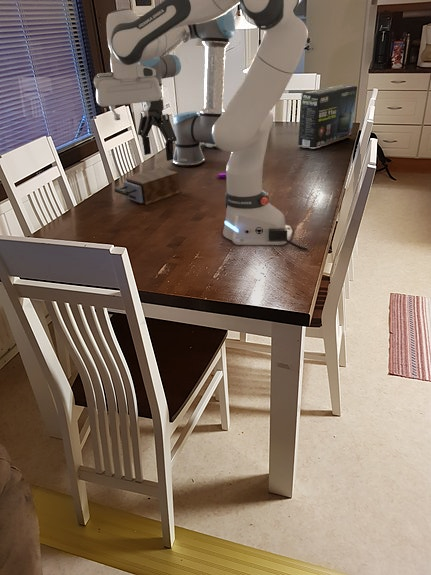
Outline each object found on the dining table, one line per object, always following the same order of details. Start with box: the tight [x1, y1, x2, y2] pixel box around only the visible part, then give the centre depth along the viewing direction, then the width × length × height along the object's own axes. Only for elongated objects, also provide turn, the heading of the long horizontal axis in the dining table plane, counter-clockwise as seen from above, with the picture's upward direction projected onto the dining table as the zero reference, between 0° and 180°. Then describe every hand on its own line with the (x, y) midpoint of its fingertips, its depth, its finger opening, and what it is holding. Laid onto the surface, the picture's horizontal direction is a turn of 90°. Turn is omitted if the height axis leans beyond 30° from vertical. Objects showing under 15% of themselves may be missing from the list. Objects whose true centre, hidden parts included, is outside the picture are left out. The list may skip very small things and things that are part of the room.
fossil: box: [200, 143, 221, 150], centre depth 248 cm, size 18×11×15 cm
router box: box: [297, 84, 358, 151], centre depth 238 cm, size 36×11×27 cm, turn 134°
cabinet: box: [125, 167, 181, 206], centre depth 182 cm, size 18×11×8 cm, turn 136°
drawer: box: [114, 180, 144, 204], centre depth 179 cm, size 22×10×6 cm, turn 136°
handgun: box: [217, 172, 226, 179], centre depth 193 cm, size 21×8×2 cm, turn 11°
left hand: (158, 157), depth 179 cm, fingers open, 13 cm apart
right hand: (131, 118), depth 148 cm, fingers open, 8 cm apart
